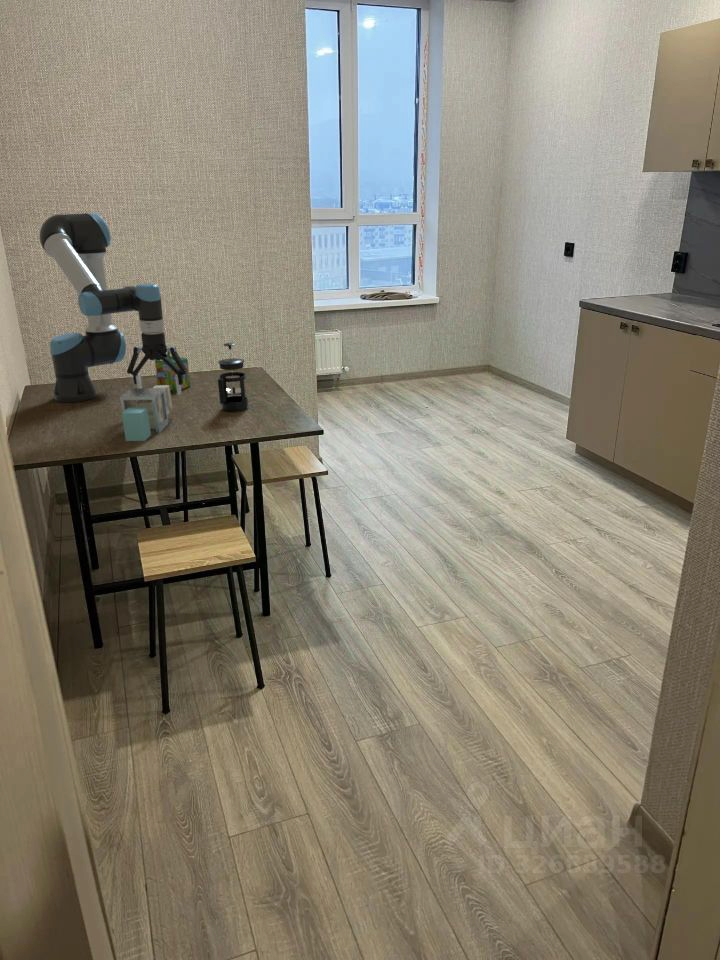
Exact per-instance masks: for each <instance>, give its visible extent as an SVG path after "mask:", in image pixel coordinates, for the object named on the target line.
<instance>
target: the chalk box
mask: <svg viewBox="0 0 720 960" xmlns="http://www.w3.org/2000/svg"><path fill="white" fill-rule="evenodd" d="M166 354H167V355H168V356H169V358H170V359H171V360H172V361H173V362H174V363H175V365H176V366H177V367H178V365H177V363H176V362H175V360H174V358H173V357H172V355H171V354H170V353H169V351H167V352H166ZM179 357H180V359H181V360H182V362H183V364H184V365H185V367H186V369H187V370H188V372H187V373H186V374H184V375H183V384H182V385H181V390H184V389H186V388H190V387H191V381H190V370H189V360H188V358H186V357H181V356H179ZM154 365H155V372H156V373H155V375H156V383H157V385H169V387H170V392H174V393H175V392H177V388H176V379H175V376H176V375H177V374H176V373H175V372H174V371H173V370H172V369H171V368H170V367H169V366H168V365H167V364H166V363H165V362H164V361H163V360H162V359H161V360H154ZM178 368H179V367H178ZM179 369H180V368H179Z"/></svg>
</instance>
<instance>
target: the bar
mask: <svg viewBox="0 0 720 960" xmlns="http://www.w3.org/2000/svg"><path fill="white" fill-rule="evenodd" d="M152 388H164V391H165V399H166V407H167V415H169V414H170V413H171V412H172V411H173V404H172V396H171V391H170V387H169V385H154V386H153V387H152ZM156 403H157V411H158V419H159V423H160V422H161V421H162V420H163V419H164V415H163V407H162V399H161V395H160V396H159V397H157V398H156ZM136 406H137V408H147V409H148V416H149V423H150V430H156V427H155V420H154V413H153V405H152V400H138V401H136Z"/></svg>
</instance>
